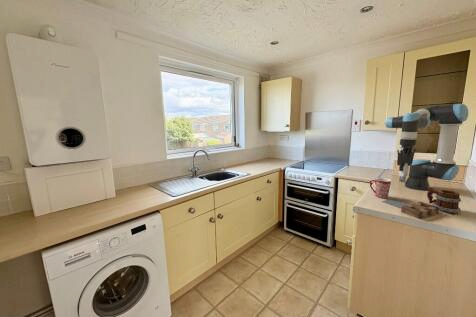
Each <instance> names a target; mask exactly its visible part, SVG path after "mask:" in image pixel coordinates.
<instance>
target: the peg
mask: <svg viewBox="0 0 476 317" xmlns="http://www.w3.org/2000/svg"><path fill="white" fill-rule="evenodd" d="M404 166H405V172H404V177H403V176H399V180H398V181H399V182H400V183H405V182H406V180H407V176H406V173H407V166H408V163H405V165H404Z"/></svg>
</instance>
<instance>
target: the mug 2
mask: <svg viewBox="0 0 476 317" xmlns="http://www.w3.org/2000/svg"><path fill="white" fill-rule="evenodd" d="M428 189H429V190H427V193H426V194H427V195H426V197H427V199H428V204H430V205H433V206H436V207H439V212H441V213H446V214H448V215H449V214H450V215H451V214H452V215H458V214H459V212H461V208H460V207H459V204H460V202H462V199H461V197H460V195H461V194H460V193H459V192H457V191H453V190H449V189H438V190H435V189H434V188H433V187H432V186H430V187H428ZM433 195H435V196H434V197H435V198H436V199H434V197H433Z"/></svg>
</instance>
